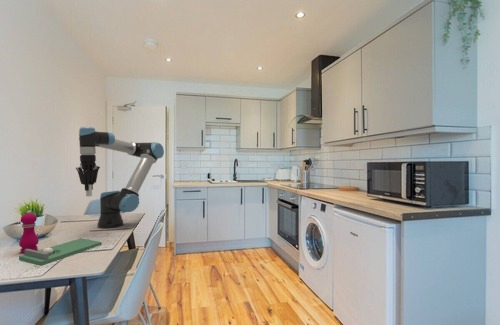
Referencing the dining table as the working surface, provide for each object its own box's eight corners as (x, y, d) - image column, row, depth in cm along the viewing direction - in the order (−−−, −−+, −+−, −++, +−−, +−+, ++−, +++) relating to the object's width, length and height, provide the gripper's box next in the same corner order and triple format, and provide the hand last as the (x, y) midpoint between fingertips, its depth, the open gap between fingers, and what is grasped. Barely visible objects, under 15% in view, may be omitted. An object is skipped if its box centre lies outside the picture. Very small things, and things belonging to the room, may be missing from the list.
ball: (49, 247, 121) (40, 248, 117) (55, 246, 120) (47, 247, 116) (48, 255, 120) (39, 257, 117) (55, 255, 119) (46, 257, 116)
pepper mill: (16, 252, 124) (15, 210, 123) (34, 247, 130) (34, 208, 130) (23, 255, 120) (22, 212, 120) (41, 250, 127) (41, 209, 126)
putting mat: (80, 241, 141) (80, 233, 140) (101, 244, 135) (101, 237, 134) (18, 259, 115) (18, 250, 115) (41, 265, 109) (41, 256, 109)
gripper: (93, 154, 153) (94, 194, 154) (71, 154, 141) (73, 197, 141) (102, 154, 150) (104, 194, 151) (81, 154, 138) (82, 198, 139)
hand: (89, 196), depth 146 cm, fingers closed
